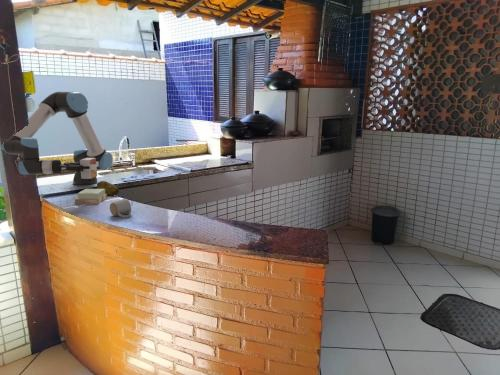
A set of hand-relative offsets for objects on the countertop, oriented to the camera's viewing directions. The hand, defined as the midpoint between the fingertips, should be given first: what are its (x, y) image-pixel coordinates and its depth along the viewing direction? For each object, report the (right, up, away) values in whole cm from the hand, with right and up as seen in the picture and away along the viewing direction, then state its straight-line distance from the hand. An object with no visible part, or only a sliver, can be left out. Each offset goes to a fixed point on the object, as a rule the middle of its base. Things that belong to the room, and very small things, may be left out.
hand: (97, 165), depth 203 cm
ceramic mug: (+22, -26, -22) cm, 41 cm away
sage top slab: (-4, -17, +3) cm, 18 cm away
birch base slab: (-5, -20, +3) cm, 21 cm away
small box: (-5, -7, 0) cm, 8 cm away
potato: (-1, -17, +17) cm, 24 cm away
